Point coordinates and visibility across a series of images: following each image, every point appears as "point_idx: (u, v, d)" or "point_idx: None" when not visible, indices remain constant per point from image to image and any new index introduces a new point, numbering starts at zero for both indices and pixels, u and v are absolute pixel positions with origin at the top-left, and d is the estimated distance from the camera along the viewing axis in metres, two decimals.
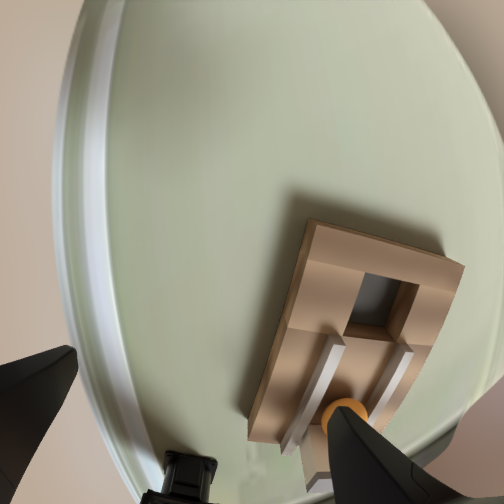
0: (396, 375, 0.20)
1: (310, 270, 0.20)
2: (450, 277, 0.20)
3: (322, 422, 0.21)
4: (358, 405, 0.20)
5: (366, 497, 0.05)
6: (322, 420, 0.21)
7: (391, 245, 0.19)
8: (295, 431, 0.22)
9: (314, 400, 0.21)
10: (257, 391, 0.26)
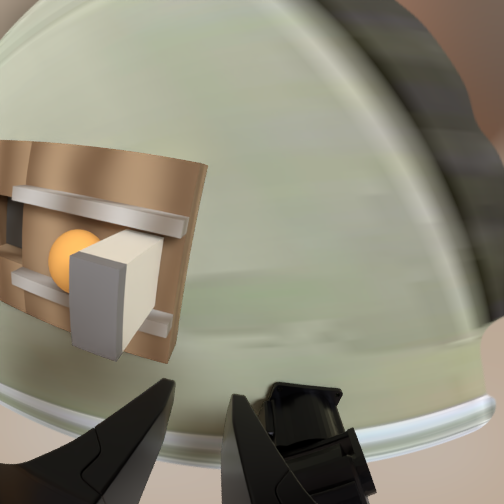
0: (32, 199, 0.15)
1: None
2: None
3: None
4: None
5: (234, 499, 0.05)
6: None
7: None
8: None
9: (62, 298, 0.17)
10: None
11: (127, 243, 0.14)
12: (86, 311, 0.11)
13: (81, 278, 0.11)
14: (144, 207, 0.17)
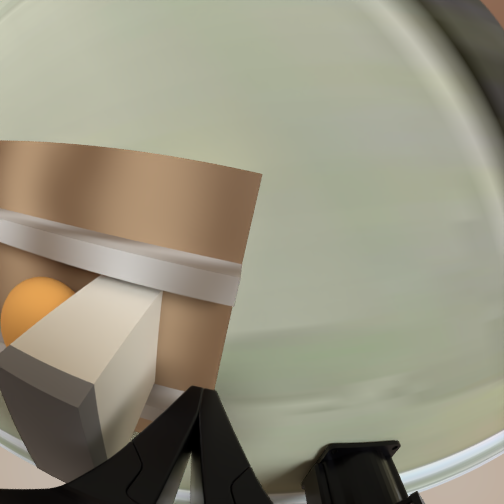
0: None
1: None
2: None
3: None
4: None
5: (195, 493, 0.05)
6: None
7: None
8: None
9: None
10: None
11: (100, 313, 0.07)
12: (43, 443, 0.05)
13: (19, 401, 0.04)
14: (164, 246, 0.10)
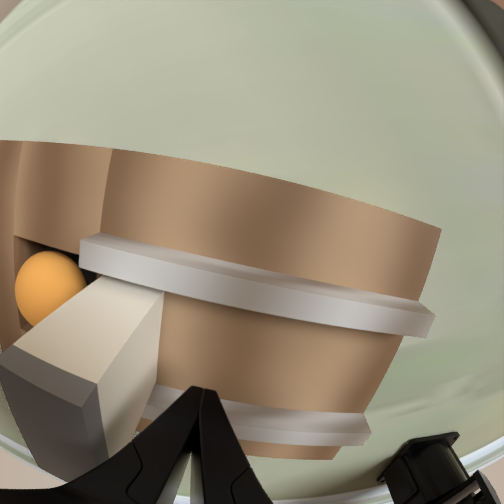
0: (137, 273, 0.09)
1: None
2: (4, 168, 0.09)
3: None
4: (15, 287, 0.10)
5: (195, 493, 0.05)
6: None
7: None
8: (290, 442, 0.11)
9: None
10: None
11: (103, 313, 0.08)
12: (45, 443, 0.05)
13: (21, 400, 0.04)
14: (364, 290, 0.11)
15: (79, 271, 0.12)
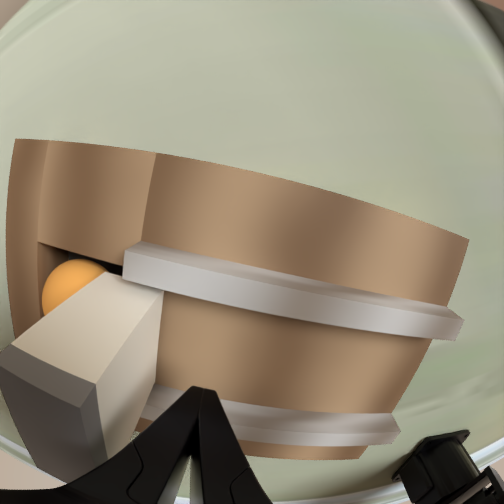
0: (191, 285, 0.09)
1: None
2: (26, 169, 0.09)
3: None
4: (43, 299, 0.10)
5: (195, 493, 0.05)
6: None
7: (10, 301, 0.11)
8: (326, 444, 0.11)
9: (244, 433, 0.11)
10: None
11: (101, 312, 0.07)
12: (43, 443, 0.05)
13: (19, 400, 0.04)
14: (401, 297, 0.11)
15: None
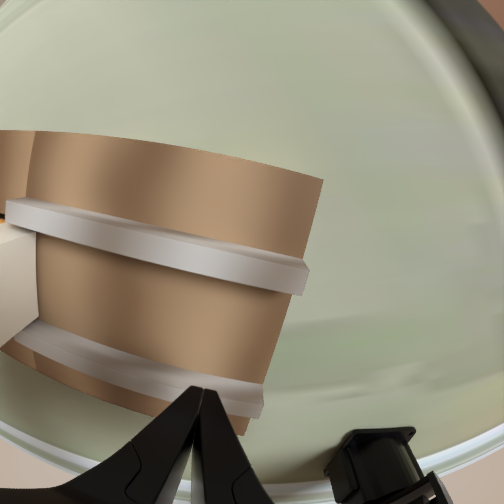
0: (38, 223, 0.10)
1: None
2: None
3: None
4: None
5: (196, 493, 0.05)
6: None
7: None
8: None
9: (95, 370, 0.11)
10: None
11: None
12: None
13: None
14: (231, 242, 0.11)
15: None
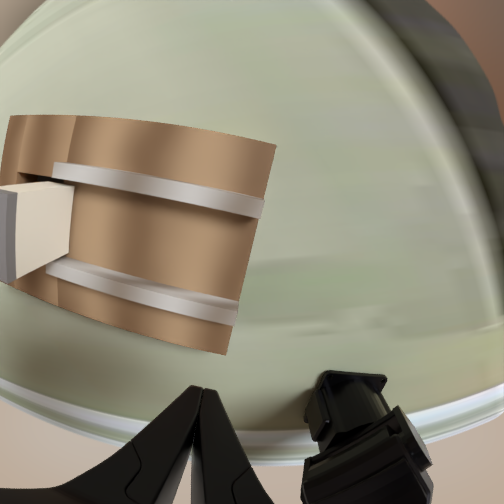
0: (80, 176, 0.15)
1: (19, 285, 0.18)
2: (15, 132, 0.15)
3: None
4: None
5: (196, 493, 0.05)
6: None
7: None
8: (170, 309, 0.17)
9: (111, 287, 0.16)
10: None
11: (35, 186, 0.13)
12: None
13: None
14: (214, 187, 0.16)
15: None
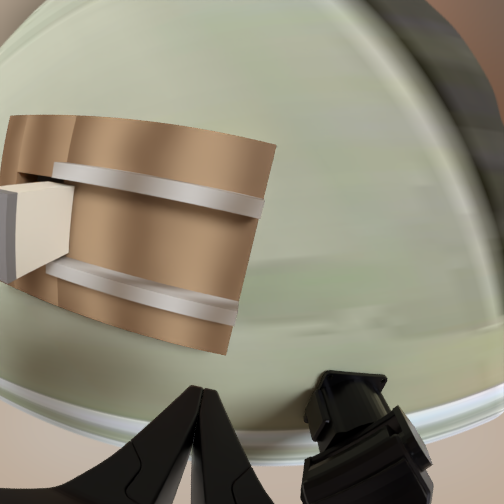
0: (80, 176, 0.15)
1: (19, 285, 0.18)
2: (15, 132, 0.15)
3: None
4: None
5: (196, 493, 0.05)
6: None
7: None
8: (170, 309, 0.17)
9: (111, 287, 0.16)
10: None
11: (35, 186, 0.13)
12: None
13: None
14: (214, 187, 0.16)
15: None
